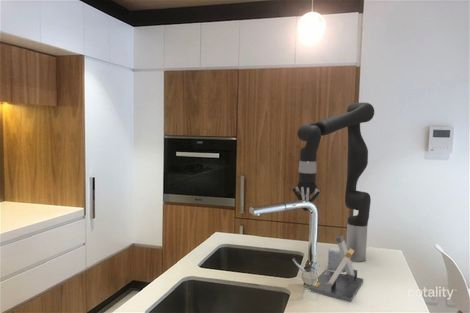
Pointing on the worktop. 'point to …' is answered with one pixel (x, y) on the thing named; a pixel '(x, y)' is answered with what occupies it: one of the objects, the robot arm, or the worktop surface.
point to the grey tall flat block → (343, 252)
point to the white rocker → (341, 266)
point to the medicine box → (334, 259)
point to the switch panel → (338, 285)
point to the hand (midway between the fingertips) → (305, 210)
